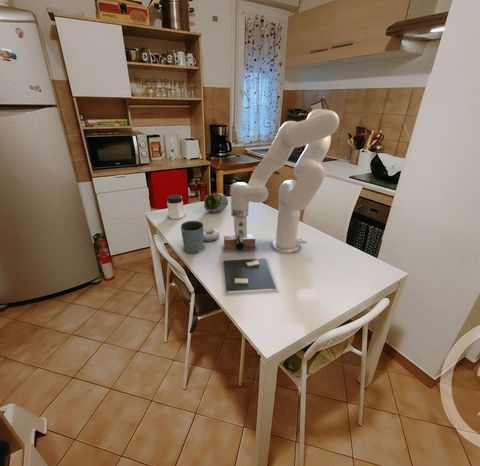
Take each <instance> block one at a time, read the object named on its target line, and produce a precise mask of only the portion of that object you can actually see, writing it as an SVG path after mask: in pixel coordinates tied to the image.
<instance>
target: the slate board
mask: <svg viewBox="0 0 480 466" xmlns="http://www.w3.org/2000/svg"><path fill="white" fill-rule="evenodd" d="M252 261H258V262H259V265H256V266H251V267H248V266H247V264H246V263H247V262H252ZM223 269H224V282H225V290H226V292H243V291H256V290H258V291H259V290H272V289H276V286H275V283H274V279H273V277H272V274H271V271H270V269H269V266H268V262H267V259H266V258H248V259H246V258H245V259H228V260H227V259H226V260H225V259H224V260H223ZM235 278H241V279H248V284H235Z"/></svg>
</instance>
